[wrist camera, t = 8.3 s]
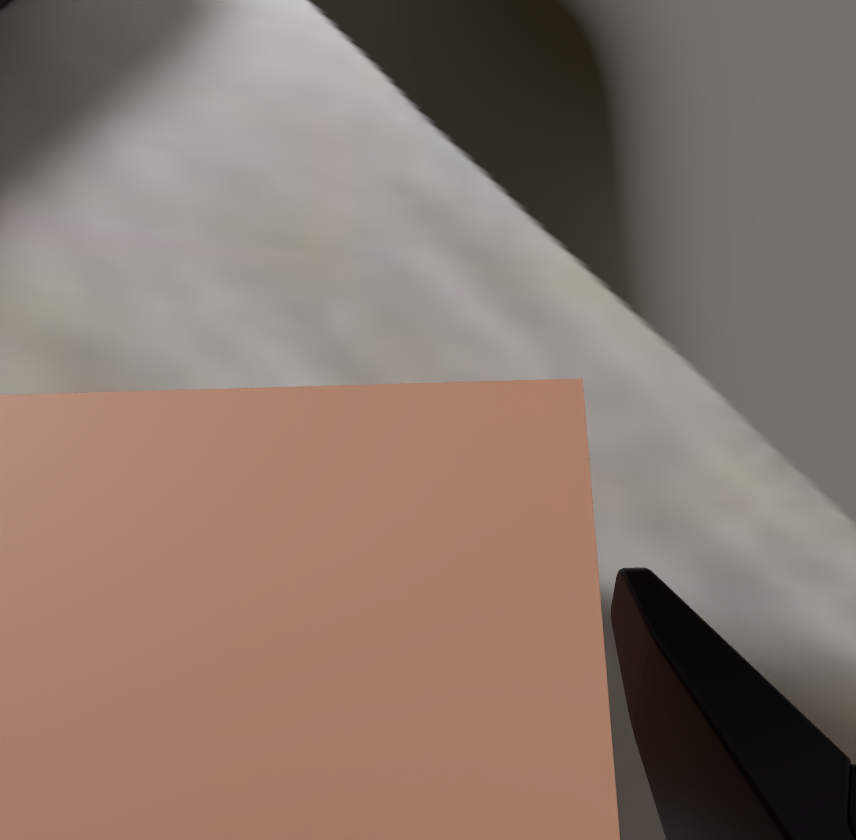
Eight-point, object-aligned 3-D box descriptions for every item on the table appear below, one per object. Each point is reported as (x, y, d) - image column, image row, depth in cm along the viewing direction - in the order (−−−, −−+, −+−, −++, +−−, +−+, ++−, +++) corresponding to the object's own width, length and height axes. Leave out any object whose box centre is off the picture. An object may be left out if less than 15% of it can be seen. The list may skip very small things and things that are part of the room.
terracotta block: (474, 736, 18) (705, 1885, 2) (276, 740, 18) (-827, 1882, 2) (467, 534, 19) (582, 379, 4) (282, 539, 19) (-415, 407, 4)
